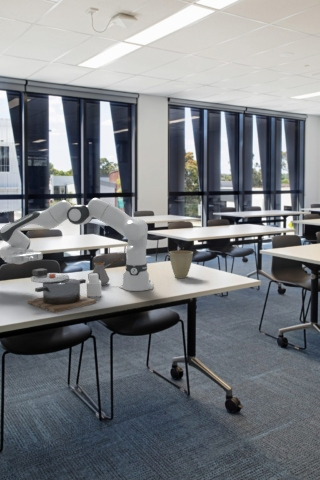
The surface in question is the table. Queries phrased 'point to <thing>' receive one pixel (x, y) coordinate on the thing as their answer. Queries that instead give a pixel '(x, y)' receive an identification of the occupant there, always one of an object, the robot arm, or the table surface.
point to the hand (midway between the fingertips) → (31, 259)
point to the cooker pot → (61, 292)
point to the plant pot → (181, 262)
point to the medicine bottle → (93, 285)
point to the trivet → (58, 308)
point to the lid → (47, 276)
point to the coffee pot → (103, 271)
